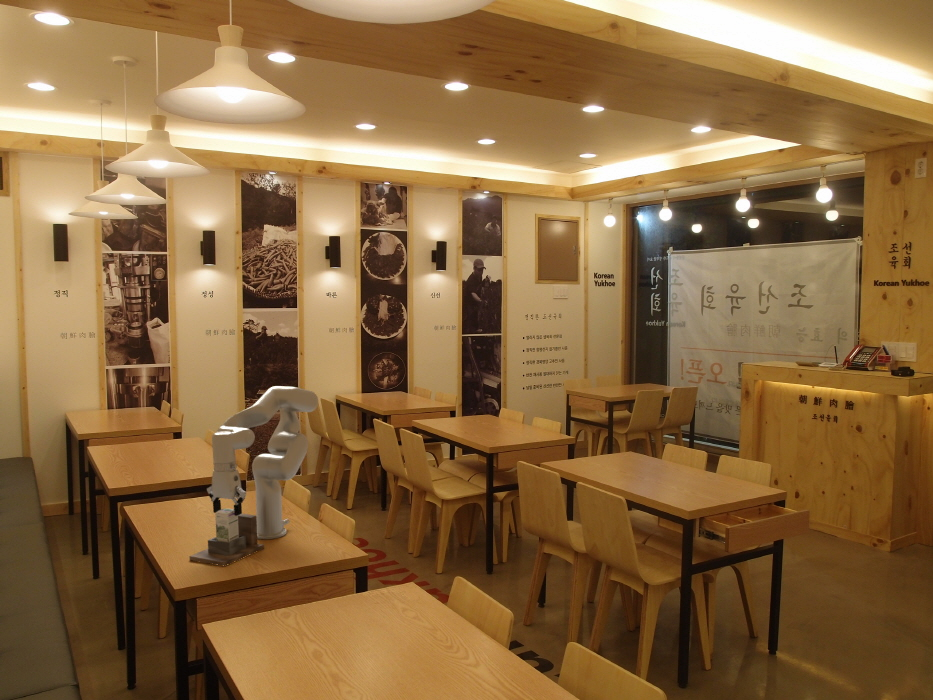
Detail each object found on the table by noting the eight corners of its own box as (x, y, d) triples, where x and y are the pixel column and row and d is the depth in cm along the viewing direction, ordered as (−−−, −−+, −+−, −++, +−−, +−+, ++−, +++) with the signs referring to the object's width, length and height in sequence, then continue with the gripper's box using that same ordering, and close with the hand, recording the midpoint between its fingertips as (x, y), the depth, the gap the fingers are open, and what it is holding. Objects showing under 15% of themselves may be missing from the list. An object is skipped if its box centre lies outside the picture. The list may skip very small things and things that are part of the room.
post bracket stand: (230, 543, 275) (229, 511, 274) (264, 548, 268) (262, 516, 267) (189, 560, 256) (188, 526, 256) (224, 566, 250) (223, 532, 249)
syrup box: (240, 548, 264) (238, 508, 263) (229, 553, 258) (227, 513, 257) (227, 546, 266) (225, 507, 265) (216, 552, 260) (214, 511, 259)
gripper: (251, 465, 260) (253, 512, 262) (214, 462, 267) (216, 507, 269) (236, 471, 253) (239, 519, 255) (198, 466, 261) (201, 513, 262)
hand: (227, 513), depth 262 cm, fingers open, 9 cm apart
